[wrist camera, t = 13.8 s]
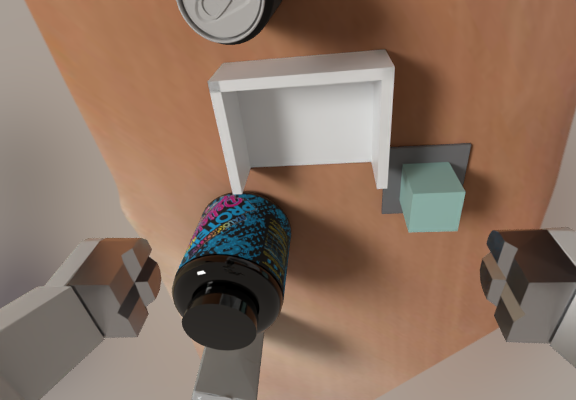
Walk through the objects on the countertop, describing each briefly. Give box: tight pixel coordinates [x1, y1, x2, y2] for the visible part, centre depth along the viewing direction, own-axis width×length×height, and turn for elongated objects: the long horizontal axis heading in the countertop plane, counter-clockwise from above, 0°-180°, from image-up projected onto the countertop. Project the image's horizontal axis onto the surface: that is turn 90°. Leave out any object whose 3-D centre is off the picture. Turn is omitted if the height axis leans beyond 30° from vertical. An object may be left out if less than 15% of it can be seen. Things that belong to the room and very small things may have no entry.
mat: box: [382, 143, 471, 214], centre depth 43 cm, size 9×9×1 cm
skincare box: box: [191, 331, 264, 400], centre depth 54 cm, size 8×7×16 cm
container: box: [172, 192, 291, 351], centre depth 43 cm, size 12×12×16 cm
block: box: [400, 162, 465, 232], centre depth 40 cm, size 5×5×6 cm
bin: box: [208, 49, 395, 195], centre depth 37 cm, size 12×16×6 cm
